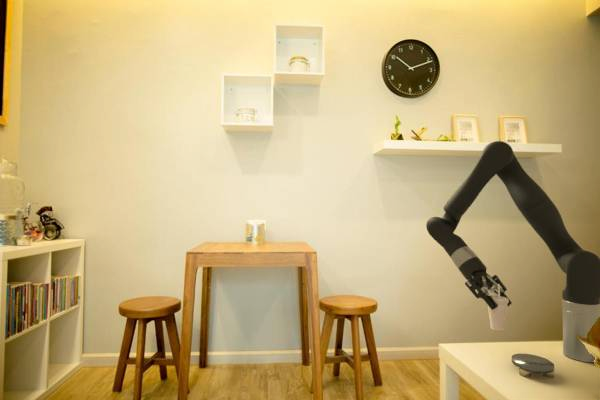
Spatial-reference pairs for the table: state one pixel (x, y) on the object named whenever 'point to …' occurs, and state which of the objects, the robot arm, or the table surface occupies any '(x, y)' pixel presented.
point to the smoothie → (498, 312)
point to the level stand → (533, 365)
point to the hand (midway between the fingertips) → (502, 306)
